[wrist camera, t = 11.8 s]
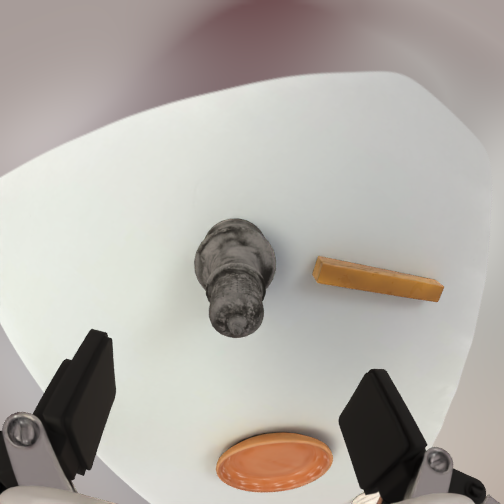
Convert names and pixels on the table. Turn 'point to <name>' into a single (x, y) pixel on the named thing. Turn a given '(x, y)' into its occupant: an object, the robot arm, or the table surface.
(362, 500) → the coaster
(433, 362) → the table surface
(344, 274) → the golden stick
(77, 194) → the table surface
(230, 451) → the saucer
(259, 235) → the salt shaker
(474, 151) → the table surface
